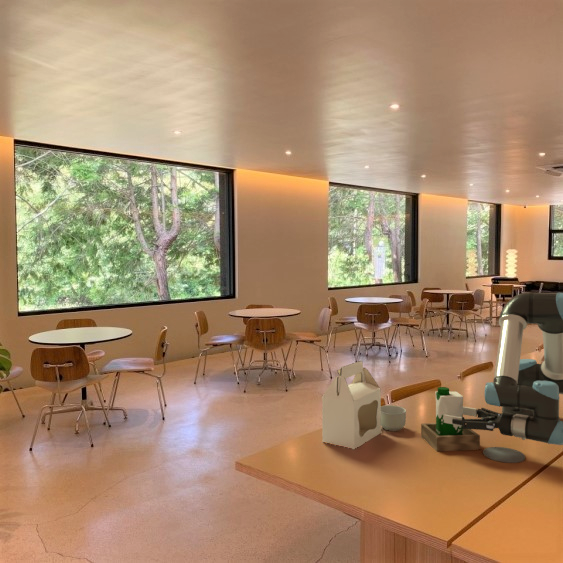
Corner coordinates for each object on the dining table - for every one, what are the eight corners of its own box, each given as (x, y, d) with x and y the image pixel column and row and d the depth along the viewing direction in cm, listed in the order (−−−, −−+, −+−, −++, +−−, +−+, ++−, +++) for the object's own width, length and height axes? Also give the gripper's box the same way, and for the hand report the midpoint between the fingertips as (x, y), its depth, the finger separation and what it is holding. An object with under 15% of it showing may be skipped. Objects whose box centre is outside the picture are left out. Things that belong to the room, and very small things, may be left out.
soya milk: (433, 438, 192) (433, 385, 191) (458, 438, 192) (457, 385, 191) (440, 447, 183) (440, 391, 183) (466, 447, 183) (466, 391, 183)
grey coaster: (511, 447, 182) (511, 446, 182) (533, 461, 169) (533, 460, 169) (476, 449, 181) (476, 447, 181) (494, 463, 168) (494, 461, 168)
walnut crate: (460, 435, 196) (460, 422, 196) (479, 449, 181) (479, 435, 181) (421, 436, 195) (421, 423, 195) (437, 451, 179) (437, 437, 179)
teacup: (407, 425, 208) (407, 406, 208) (404, 434, 198) (404, 413, 197) (372, 422, 213) (372, 403, 212) (368, 431, 202) (368, 410, 202)
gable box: (351, 427, 208) (350, 357, 207) (381, 433, 200) (381, 360, 199) (321, 442, 190) (321, 366, 189) (354, 450, 182) (353, 371, 181)
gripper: (502, 446, 163) (437, 433, 177) (524, 426, 182) (464, 416, 196) (502, 423, 163) (437, 411, 176) (524, 405, 182) (464, 396, 196)
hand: (451, 414), depth 186 cm, fingers open, 13 cm apart
